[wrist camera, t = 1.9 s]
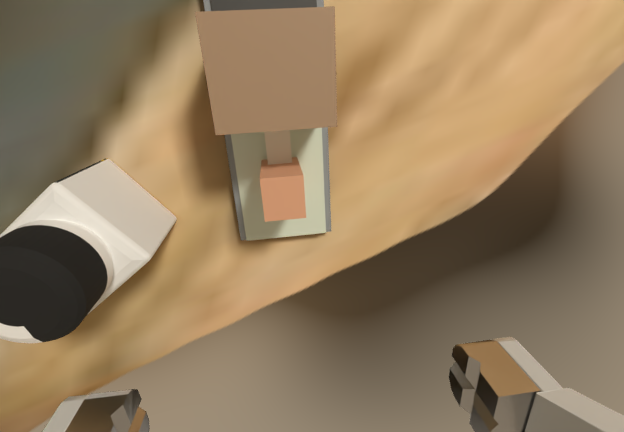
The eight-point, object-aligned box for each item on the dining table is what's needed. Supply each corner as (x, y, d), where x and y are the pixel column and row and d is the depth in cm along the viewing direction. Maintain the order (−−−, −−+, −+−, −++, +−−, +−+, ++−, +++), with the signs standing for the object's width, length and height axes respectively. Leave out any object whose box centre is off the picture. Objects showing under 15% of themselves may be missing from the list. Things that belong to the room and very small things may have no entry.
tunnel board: (199, -36, 21) (165, -94, 14) (319, -39, 22) (342, -95, 15) (241, 235, 29) (232, 283, 22) (329, 226, 30) (347, 270, 23)
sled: (239, 29, 22) (229, 13, 17) (295, 26, 22) (301, 11, 17) (259, 196, 26) (257, 222, 22) (305, 192, 27) (313, 217, 22)
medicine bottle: (108, 155, 25) (-18, 213, 14) (179, 217, 28) (120, 307, 17) (50, 212, 26) (-108, 306, 15) (124, 267, 29) (34, 380, 18)
